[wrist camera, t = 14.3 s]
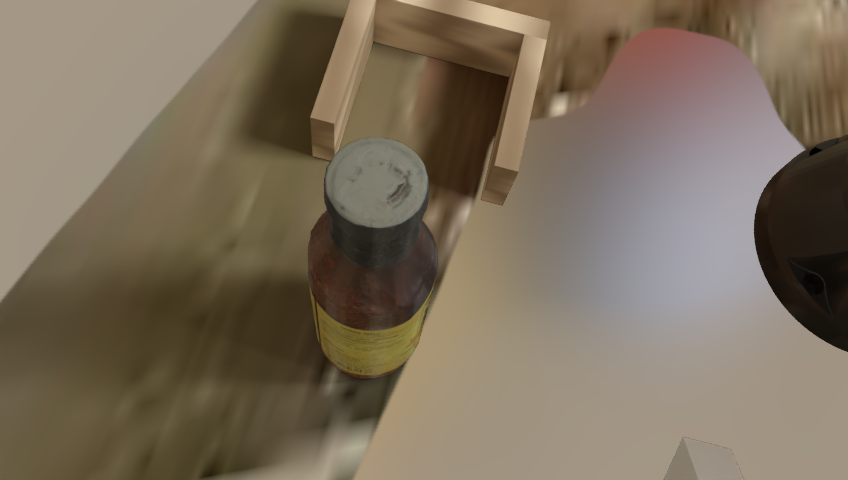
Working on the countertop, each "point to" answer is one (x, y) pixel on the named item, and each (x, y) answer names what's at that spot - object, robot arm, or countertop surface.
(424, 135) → the countertop surface
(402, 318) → the sauce bottle
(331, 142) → the wooden u-shaped frame
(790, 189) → the robot arm
